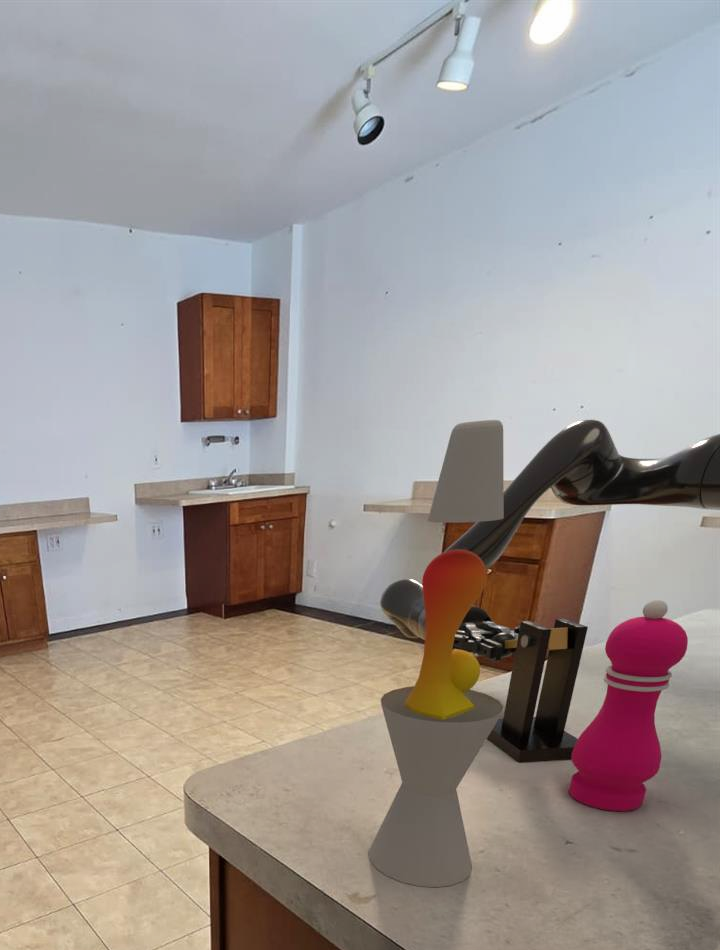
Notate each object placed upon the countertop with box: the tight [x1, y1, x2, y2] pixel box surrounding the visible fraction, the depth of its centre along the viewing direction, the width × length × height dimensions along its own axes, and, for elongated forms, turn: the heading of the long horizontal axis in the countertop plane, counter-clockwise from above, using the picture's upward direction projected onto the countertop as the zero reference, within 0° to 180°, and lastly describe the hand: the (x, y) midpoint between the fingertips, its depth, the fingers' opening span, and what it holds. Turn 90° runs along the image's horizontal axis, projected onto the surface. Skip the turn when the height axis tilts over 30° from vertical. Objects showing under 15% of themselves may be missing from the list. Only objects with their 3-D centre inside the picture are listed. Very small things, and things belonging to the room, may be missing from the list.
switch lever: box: [491, 627, 568, 659], centre depth 78 cm, size 13×3×3 cm, turn 0°
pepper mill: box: [568, 599, 689, 812], centre depth 61 cm, size 7×7×20 cm
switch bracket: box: [486, 618, 589, 763], centre depth 75 cm, size 10×8×15 cm
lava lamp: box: [367, 419, 505, 888], centre depth 50 cm, size 9×9×35 cm
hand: (514, 652), depth 80 cm, fingers closed on switch lever, 3 cm apart
